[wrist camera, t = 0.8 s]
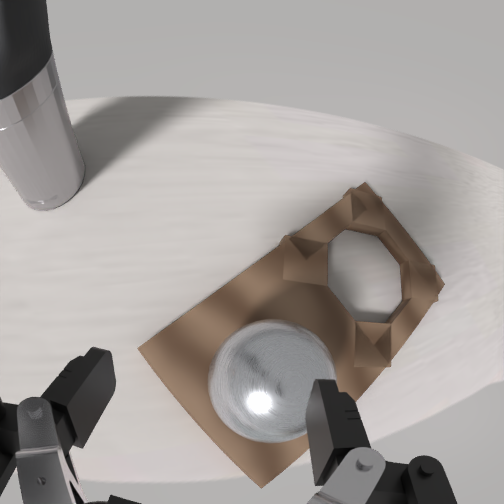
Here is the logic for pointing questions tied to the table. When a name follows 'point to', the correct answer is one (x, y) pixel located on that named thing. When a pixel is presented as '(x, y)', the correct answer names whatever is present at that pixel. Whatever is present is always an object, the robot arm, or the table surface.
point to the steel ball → (267, 379)
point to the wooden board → (298, 311)
